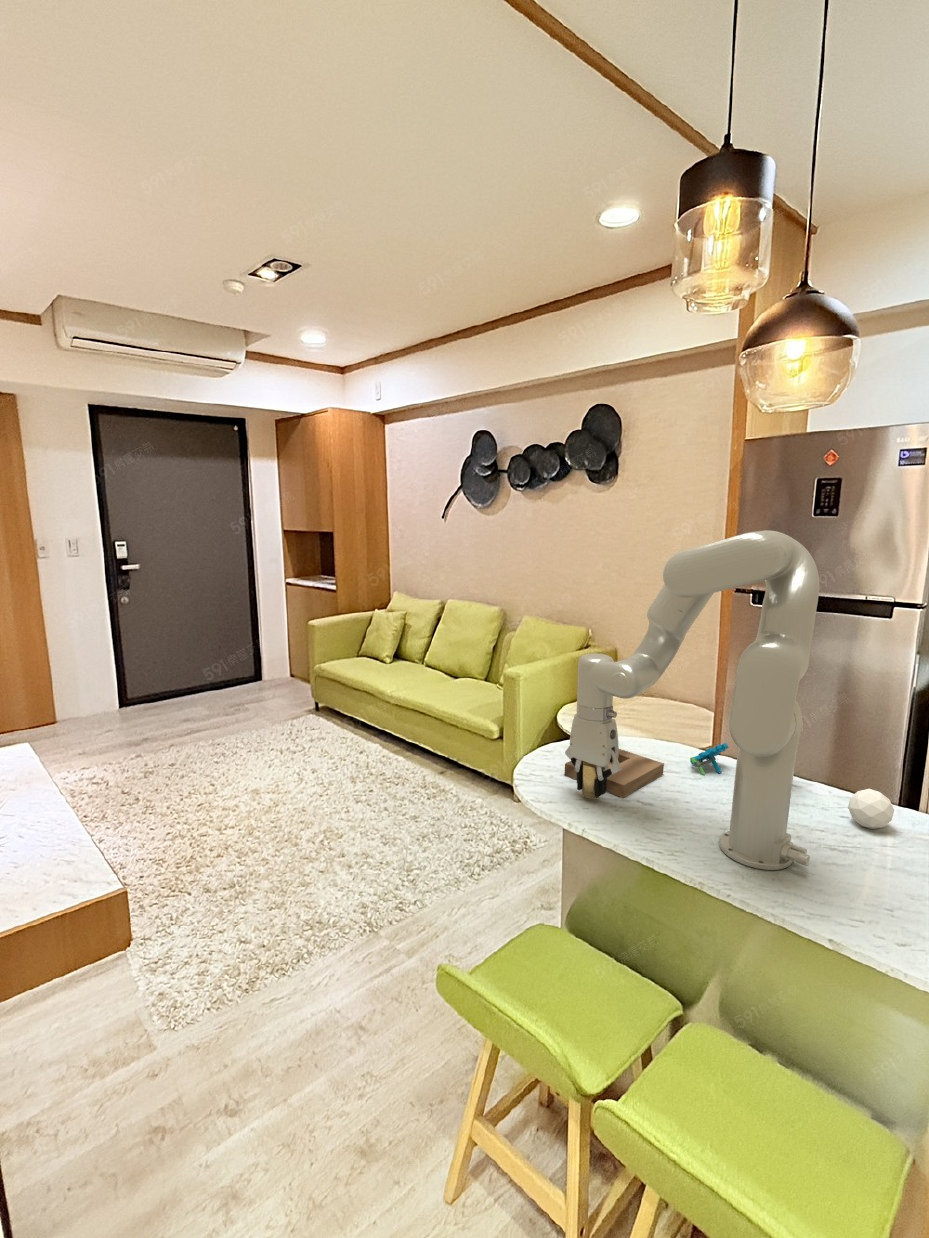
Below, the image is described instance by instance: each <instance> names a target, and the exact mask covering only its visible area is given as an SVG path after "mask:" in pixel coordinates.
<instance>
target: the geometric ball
mask: <svg viewBox="0 0 929 1238" xmlns="http://www.w3.org/2000/svg"><path fill="white" fill-rule="evenodd" d="M847 808H848V811H849V814H850V816H851V818H852V819H853V820H854V821H855V822H856V823H858V824H859V825H860V826H862V827H865V828H868V829H871V830H875V829H880V828H885V827H886V826H887V825H888V824H890V822H892V821H893V817H894V813H895V808H894V806H893V804H892V802H891V799H889V798H888V797H887V796H886V795H884V794H883V793H882V792H880V791H877V790H875V789H871V788H866V789H862V790H858V791H856V792H855V793H853V795H851V797H850V798H849V802H848V805H847Z"/></svg>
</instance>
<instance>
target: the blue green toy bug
mask: <svg viewBox="0 0 929 1238" xmlns="http://www.w3.org/2000/svg"><path fill="white" fill-rule="evenodd" d="M728 748H729V746H728V744H727V743H726V742H725V743H722V744H721V743H720V744H717V745H715V747H710V748H708V749H706V750H705V751H701V752H699V753H698V755H695V756H692V757H690V758H689V762H690V763H691V765H693V766H695V768H698V769H699V771H700V774H701V776H705V775H706V772H705V771H704V769H703V767H702V766H703V765H706V764H709V763H711V764H712V765H713V767H714V769H715V770H716V772H717V774H720V773H722V769H721V768H720V766H719V764H718V762H717V761H716V760H717V758H716V757H717V756H719V755H720V754H721V753H724V752H725V751H726V749H728ZM719 772H720V773H719Z"/></svg>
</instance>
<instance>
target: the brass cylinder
mask: <svg viewBox="0 0 929 1238" xmlns="http://www.w3.org/2000/svg"><path fill="white" fill-rule="evenodd" d="M596 779H598V774H597V766H596V765H593V764H590V763H587V762H583V776H582V790H581V795H582V797H584V798H586V799H592V800H594V799H598V798H600V797H596V796H595V780H596Z"/></svg>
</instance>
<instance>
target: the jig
mask: <svg viewBox="0 0 929 1238" xmlns="http://www.w3.org/2000/svg"><path fill="white" fill-rule="evenodd" d="M618 761H619V763H620V766H621V768H622V770H621V771H619V772H616V773H614V774H612V775H610V776H609V777H607V789H606V792H605V793H609V794H611V795H614V796H617V797H620V798H621V799H624V798H626V797H627V796H630V795H631V794H632V793H634V792H636V791H637V790H640V789H642V787H645V786H647V785H648V784H650V783H651V782H654V781H655V780H657V779H658V778H660V777H662V776H663V775H664V769H665V768H664V767H665V766H664V765H665V763H664V762H660V761H658V760H654V759H651V758H648V757H645V756H643V755H639V754H637V753H633V752H631V751H628V750H624V749H621V748H619V755H618ZM608 765H609V768H612V765H611V763H610V762H609V764H608ZM564 776H566V777H568V778H571V779H573V780H576V781H577V772H576V771H575V767H574V765H573V764H572V762H571V760H569V761H568V762H566V763H564Z"/></svg>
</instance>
